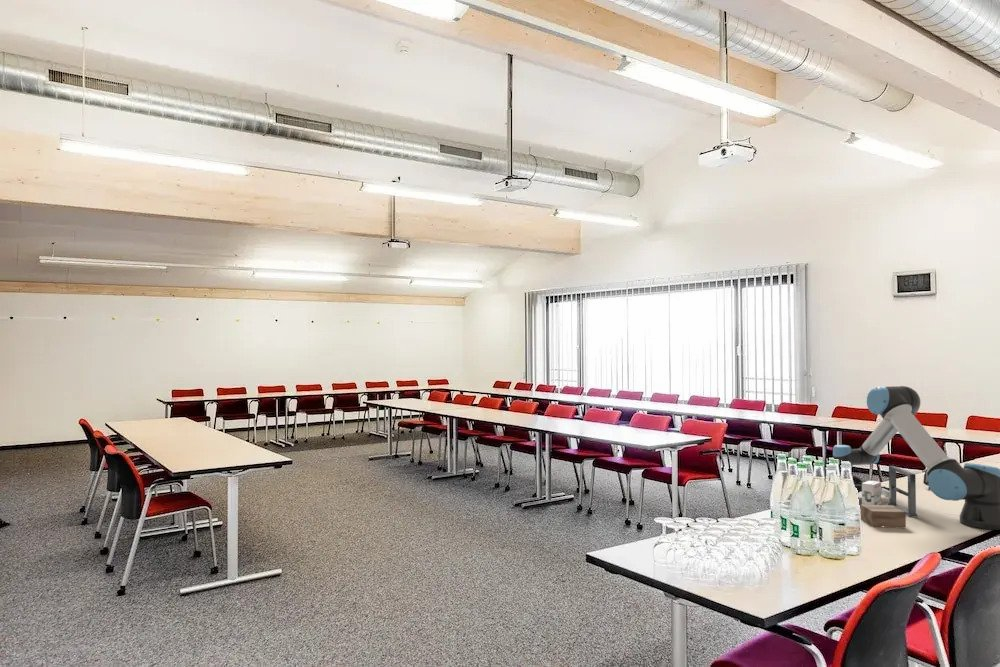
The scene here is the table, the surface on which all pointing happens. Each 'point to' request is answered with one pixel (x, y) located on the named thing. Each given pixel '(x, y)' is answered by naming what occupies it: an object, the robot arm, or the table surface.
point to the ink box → (871, 493)
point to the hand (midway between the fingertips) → (872, 494)
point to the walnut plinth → (883, 515)
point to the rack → (911, 490)
